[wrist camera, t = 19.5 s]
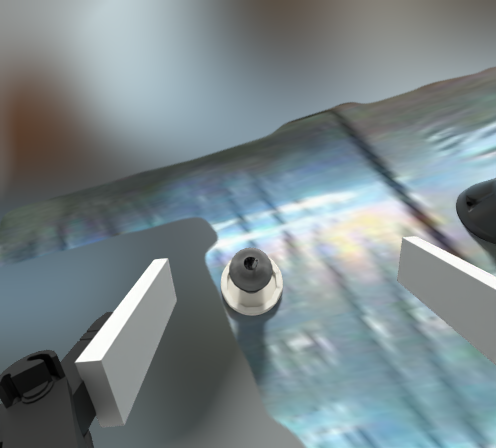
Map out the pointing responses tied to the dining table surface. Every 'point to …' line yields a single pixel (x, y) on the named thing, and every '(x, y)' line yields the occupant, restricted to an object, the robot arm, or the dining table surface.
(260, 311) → the plate
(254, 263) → the beverage cup
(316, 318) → the dining table surface
